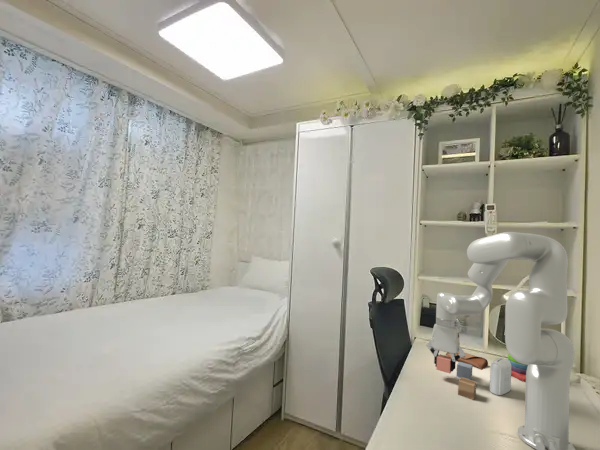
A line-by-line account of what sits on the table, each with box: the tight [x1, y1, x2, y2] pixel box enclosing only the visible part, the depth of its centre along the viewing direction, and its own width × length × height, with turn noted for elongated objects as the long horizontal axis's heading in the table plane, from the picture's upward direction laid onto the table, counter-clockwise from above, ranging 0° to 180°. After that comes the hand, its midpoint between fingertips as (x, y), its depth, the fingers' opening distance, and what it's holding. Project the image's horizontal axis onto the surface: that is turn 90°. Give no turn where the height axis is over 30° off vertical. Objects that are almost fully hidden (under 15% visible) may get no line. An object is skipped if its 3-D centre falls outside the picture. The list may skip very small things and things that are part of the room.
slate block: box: [456, 362, 473, 380], centre depth 124 cm, size 5×5×5 cm
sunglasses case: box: [445, 352, 489, 370], centre depth 143 cm, size 18×7×7 cm
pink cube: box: [435, 354, 453, 374], centre depth 120 cm, size 5×5×5 cm
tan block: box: [457, 377, 477, 401], centre depth 108 cm, size 5×5×5 cm
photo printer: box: [489, 357, 512, 396], centre depth 113 cm, size 10×4×12 cm, turn 123°
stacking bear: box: [507, 353, 528, 383], centre depth 130 cm, size 11×10×18 cm
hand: (444, 367), depth 120 cm, fingers closed on pink cube, 4 cm apart
